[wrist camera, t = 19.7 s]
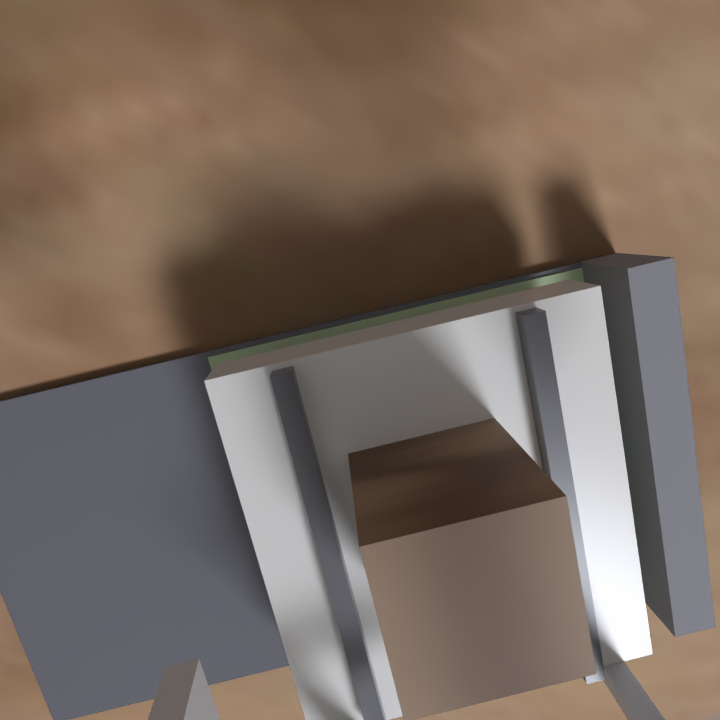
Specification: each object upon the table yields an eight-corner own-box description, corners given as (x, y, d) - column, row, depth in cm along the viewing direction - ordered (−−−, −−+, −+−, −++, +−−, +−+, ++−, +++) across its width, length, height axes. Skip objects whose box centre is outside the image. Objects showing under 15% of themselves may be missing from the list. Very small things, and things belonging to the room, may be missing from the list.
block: (380, 584, 21) (404, 721, 15) (348, 453, 20) (359, 546, 14) (519, 550, 21) (596, 674, 15) (494, 417, 20) (566, 496, 14)
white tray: (317, 673, 26) (315, 953, 16) (225, 354, 23) (148, 451, 13) (603, 603, 27) (779, 837, 16) (551, 275, 23) (730, 311, 13)
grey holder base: (57, 717, 27) (12, 801, 23) (-66, 416, 23) (-144, 453, 20) (658, 569, 27) (715, 626, 23) (616, 253, 24) (674, 257, 20)
